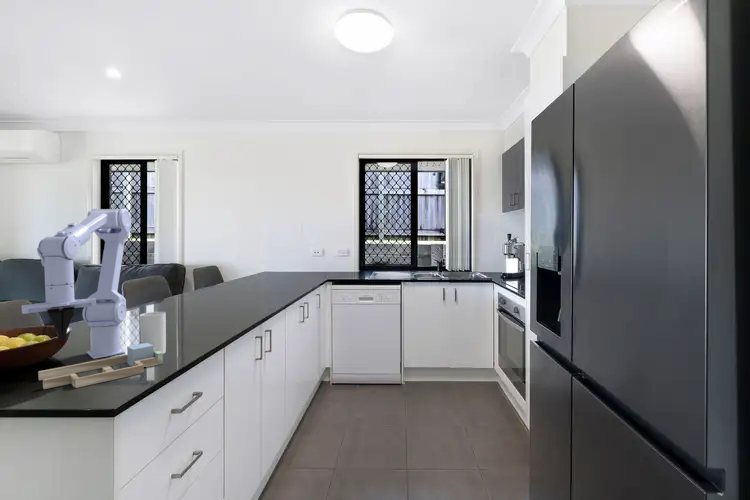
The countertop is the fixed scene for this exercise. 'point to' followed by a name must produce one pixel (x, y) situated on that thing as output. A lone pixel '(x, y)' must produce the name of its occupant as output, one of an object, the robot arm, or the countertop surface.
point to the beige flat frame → (68, 372)
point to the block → (139, 352)
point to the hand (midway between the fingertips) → (61, 338)
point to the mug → (154, 330)
